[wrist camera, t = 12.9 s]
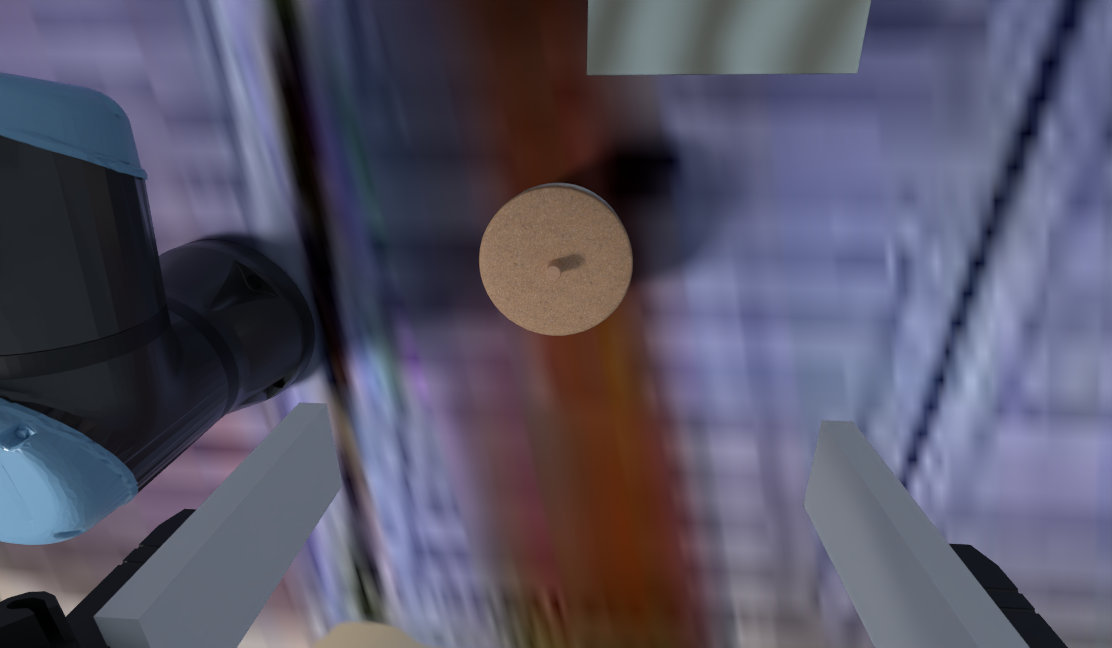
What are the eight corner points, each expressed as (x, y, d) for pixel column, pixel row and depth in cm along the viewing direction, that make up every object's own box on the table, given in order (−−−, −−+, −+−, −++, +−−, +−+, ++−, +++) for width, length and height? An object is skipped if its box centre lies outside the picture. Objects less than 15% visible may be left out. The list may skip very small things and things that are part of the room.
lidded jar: (509, 157, 43) (487, 174, 34) (642, 188, 43) (654, 212, 34) (487, 284, 47) (462, 327, 38) (609, 311, 47) (611, 360, 38)
